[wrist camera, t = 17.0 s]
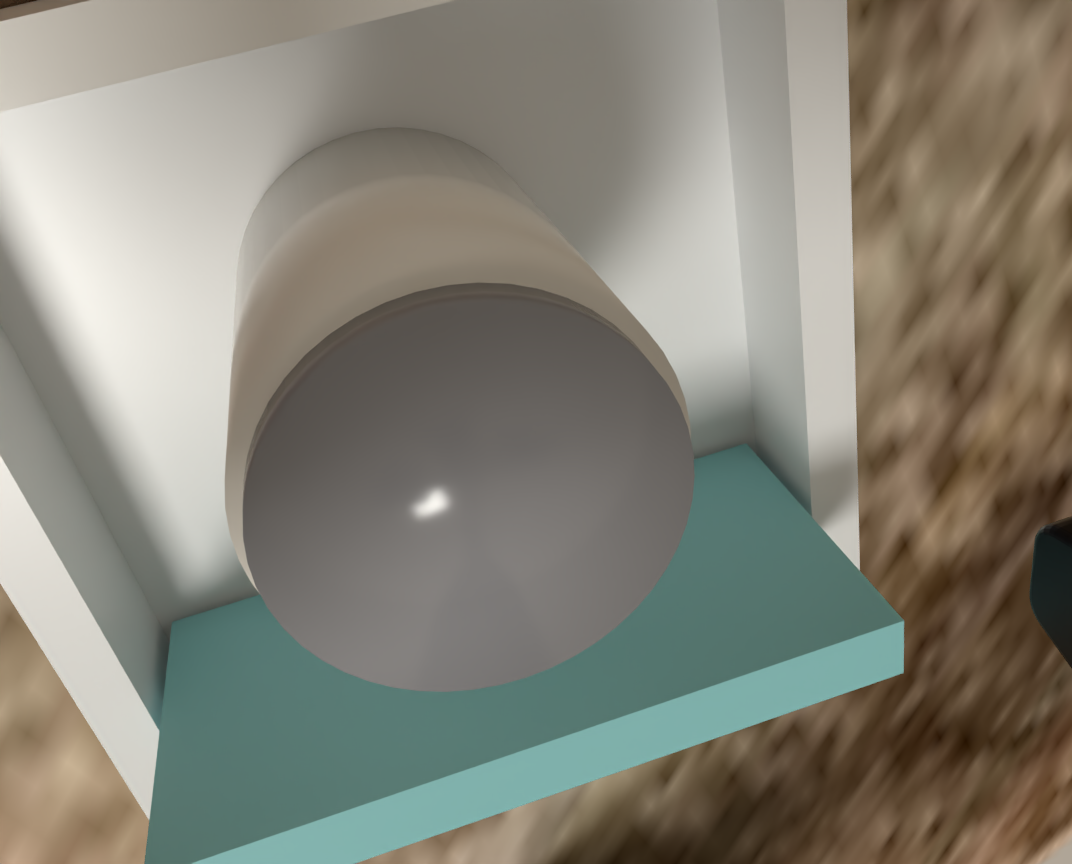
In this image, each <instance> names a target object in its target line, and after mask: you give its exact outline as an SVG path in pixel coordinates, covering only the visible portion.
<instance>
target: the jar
mask: <svg viewBox="0 0 1072 864" xmlns="http://www.w3.org/2000/svg"><path fill="white" fill-rule="evenodd" d="M694 478H695V474H694V454H693V448H692V443H691V430H690V420H689V416H688V411H687V406H686V401H685V397H684V394H683V392H682V389H681V386H680V384H679V381H678V378H677V376H676V373H675V372H674V370H673V368H672V366H671V364H670V363H669V361H668V359H667V357H666V356H665V354H664V352H663V351H662V349H661V348H660V347H659V346H658V344H657V343H656V342H655V340H654V339H653V338H652V337H651V335H650V334H649V333H648V332H647V330H646V329H645V328H644V327H643V326H642V325H641V323H640V322H639V321H638V320H637V319H636V318H635V317H634V315H633V314H632V313H631V312H630V311H629V310H628V309H627V308H626V306H625V305H624V304H623V303H622V302H621V301H620V300H619V298H618V297H617V296H616V295H615V294H614V293H613V292H612V290H611V289H610V288H609V287H608V286H607V285H606V284H605V282H604V281H603V280H602V279H601V278H600V277H599V276H598V275H597V273H596V272H595V271H594V270H593V269H592V268H591V267H590V265H589V264H588V263H587V262H586V261H585V260H584V259H583V257H582V256H581V255H580V254H579V253H578V252H577V251H576V249H575V248H574V247H573V246H572V245H571V244H570V243H569V242H568V240H567V239H566V238H565V237H564V236H563V235H562V234H561V232H560V231H559V230H558V229H557V228H556V227H555V226H554V224H553V223H552V222H551V221H550V220H549V219H548V218H547V217H546V215H545V214H544V213H543V212H542V211H541V210H540V209H539V207H538V206H537V205H536V204H535V203H534V202H533V201H532V199H531V198H530V197H529V196H528V195H527V194H526V193H525V191H524V190H523V189H522V188H521V187H520V186H519V185H518V184H517V182H516V181H515V180H514V179H513V178H512V177H511V176H510V175H509V174H508V173H507V172H506V171H505V170H504V169H503V168H502V167H501V166H500V165H499V164H498V163H496V162H495V161H493V160H492V159H491V158H489V157H488V156H486V155H485V154H484V153H482V152H481V151H479V150H477V149H475V148H474V147H472V146H470V145H468V144H466V143H464V142H462V141H460V140H457V139H454V138H451V137H449V136H446V135H443V134H440V133H435V132H431V131H426V130H422V129H411V128H400V127H398V128H378V129H372V130H366V131H361V132H356V133H352V134H349V135H346V136H343V137H340V138H337V139H334V140H332V141H330V142H328V143H326V144H324V145H322V146H320V147H318V148H316V149H314V150H312V151H311V152H309V153H308V154H306V155H305V156H303V157H302V158H300V159H299V160H297V161H296V162H295V163H293V164H292V165H291V166H290V167H289V168H288V169H287V170H286V171H284V172H283V173H282V174H281V175H280V176H279V177H278V178H277V179H276V181H275V182H274V183H273V184H272V185H271V186H270V188H269V189H268V190H267V191H266V192H265V194H264V195H263V197H262V199H261V200H260V202H259V203H258V205H257V206H256V208H255V210H254V211H253V214H252V216H251V218H250V220H249V223H248V225H247V227H246V229H245V232H244V236H243V240H242V243H241V247H240V250H239V258H238V265H237V275H236V292H235V309H234V327H233V344H232V361H231V378H230V395H229V412H228V429H227V446H226V463H225V480H224V481H225V511H226V516H227V522H228V527H229V533H230V537H231V539H232V542H233V545H234V548H235V551H236V553H237V556H238V559H239V561H240V563H241V565H242V567H243V569H244V570H245V572H246V574H247V576H248V578H249V579H250V581H251V583H252V585H253V586H254V587H255V588H256V590H257V591H258V592H259V594H260V595H261V597H262V599H263V601H264V602H265V604H266V606H267V608H268V609H269V611H270V612H271V613H272V615H273V616H274V617H275V618H276V620H277V621H278V622H279V624H280V625H281V626H282V627H283V629H284V630H285V631H286V632H288V633H289V634H290V635H291V636H292V637H293V638H294V639H295V640H296V641H297V642H298V643H299V644H300V645H301V646H302V647H304V648H305V649H307V650H308V651H309V652H311V653H312V654H314V655H315V656H316V657H318V658H319V659H321V660H322V661H324V662H326V663H328V664H330V665H332V666H333V667H335V668H337V669H339V670H341V671H343V672H345V673H348V674H350V675H353V676H356V677H358V678H361V679H364V680H366V681H369V682H373V683H377V684H381V685H385V686H389V687H393V688H400V689H408V690H415V691H434V692H451V691H464V690H475V689H480V688H486V687H492V686H498V685H502V684H505V683H509V682H513V681H516V680H520V679H523V678H526V677H529V676H532V675H534V674H537V673H540V672H542V671H545V670H547V669H550V668H552V667H554V666H556V665H558V664H560V663H562V662H564V661H566V660H568V659H570V658H572V657H574V656H576V655H577V654H579V653H580V652H582V651H584V650H585V649H587V648H588V647H590V646H592V645H593V644H595V643H596V642H598V641H599V640H600V639H602V638H603V637H604V636H606V635H607V634H608V633H609V632H611V631H612V630H613V629H615V628H616V627H617V626H618V625H619V624H620V623H621V622H622V621H624V620H625V619H626V618H627V617H628V616H629V615H630V614H631V613H632V612H633V611H634V610H635V609H636V608H637V607H638V606H639V605H640V603H641V602H642V601H643V600H644V599H645V598H646V596H647V595H648V594H649V593H650V592H651V591H652V589H653V588H654V587H655V585H656V584H657V582H658V581H659V579H660V578H661V576H662V575H663V573H664V572H665V570H666V569H667V567H668V565H669V563H670V561H671V560H672V558H673V556H674V554H675V552H676V550H677V548H678V546H679V543H680V541H681V538H682V535H683V533H684V530H685V527H686V525H687V521H688V517H689V513H690V508H691V504H692V499H693V488H694Z"/></svg>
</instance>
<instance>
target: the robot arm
mask: <svg viewBox="0 0 1072 864" xmlns="http://www.w3.org/2000/svg"><path fill="white" fill-rule="evenodd" d="M1030 602H1031V606H1032V609H1033V612H1034V614H1035V616H1036V618H1037V620H1038V622H1039V623H1040V625H1041V626H1042V628H1043V629H1044V630H1045V632H1046V633H1047V635H1048V636H1049V637H1050V639H1051V640H1052V642H1053V643H1054V644H1055V646H1056V647H1057V648H1058V650H1059V651H1060V653H1061V654H1062V655H1063V657H1064V658H1065V660H1066V661H1067V662H1068V664H1069V665H1070V667H1071V668H1072V516H1071V517H1068V518H1065V519H1062V520H1059V521H1056V522H1053V523H1050V524H1047V525H1045V526H1043V527H1042V528H1040V530H1039V532H1038V533H1037V535H1036V537H1035V543H1034V553H1033V563H1032V573H1031V583H1030Z"/></svg>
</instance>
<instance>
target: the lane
mask: <svg viewBox="0 0 1072 864" xmlns="http://www.w3.org/2000/svg"><path fill="white" fill-rule="evenodd" d="M398 127H400V128H411V129H422V130H426V131H431V132H435V133H440V134H443V135H446V136H449V137H451V138H454V139H457V140H460V141H462V142H464V143H466V144H468V145H470V146H472V147H474V148H475V149H477V150H479V151H481V152H482V153H484V154H485V155H486V156H488V157H489V158H491V159H492V160H493V161H495V162H496V163H498V164H499V165H500V166H501V167H502V168H503V169H504V170H505V171H506V172H507V173H508V174H509V175H510V176H511V177H512V178H513V179H514V180H515V181H516V182H517V184H518V185H519V186H520V187H521V188H522V189H523V190H524V191H525V193H526V194H527V195H528V196H529V197H530V198H531V199H532V201H533V202H534V203H535V204H536V205H537V206H538V207H539V209H540V210H541V211H542V212H543V213H544V214H545V215H546V217H547V218H548V219H549V220H550V221H551V222H552V223H553V224H554V226H555V227H556V228H557V229H558V230H559V231H560V232H561V234H562V235H563V236H564V237H565V238H566V239H567V240H568V242H569V243H570V244H571V245H572V246H573V247H574V248H575V249H576V251H577V252H578V253H579V254H580V255H581V256H582V257H583V259H584V260H585V261H586V262H587V263H588V264H589V265H590V267H591V268H592V269H593V270H594V271H595V272H596V273H597V275H598V276H599V277H600V278H601V279H602V280H603V281H604V282H605V284H606V285H607V286H608V287H609V288H610V289H611V290H612V292H613V293H614V294H615V295H616V296H617V297H618V298H619V300H620V301H621V302H622V303H623V304H624V305H625V306H626V308H627V309H628V310H629V311H630V312H631V313H632V314H633V315H634V317H635V318H636V319H637V320H638V321H639V322H640V323H641V325H642V326H643V327H644V328H645V329H646V330H647V332H648V333H649V334H650V335H651V337H652V338H653V339H654V340H655V342H656V343H657V344H658V346H659V347H660V348H661V349H662V351H663V352H664V354H665V356H666V357H667V359H668V361H669V363H670V364H671V366H672V368H673V370H674V372H675V373H676V376H677V378H678V381H679V384H680V386H681V389H682V392H683V394H684V397H685V401H686V406H687V411H688V416H689V420H690V430H691V443H692V448H693V454H694V459H697V458H701V457H704V456H707V455H710V454H713V453H717V452H720V451H723V450H726V449H729V448H733V447H736V446H739V445H742V444H746V443H747V445H748V446H749V447H750V448H751V449H752V450H753V451H754V452H755V454H756V455H757V456H758V457H759V458H760V459H761V460H762V461H763V463H764V464H765V465H766V466H767V467H768V468H769V469H770V470H771V472H772V473H773V474H774V475H775V476H776V477H777V478H778V479H779V481H780V482H781V483H782V484H783V485H784V486H785V487H786V488H787V490H788V491H789V492H790V493H791V494H792V495H793V496H794V497H795V499H796V500H797V501H798V502H799V503H800V504H801V505H802V506H803V508H804V509H805V510H806V511H807V512H808V513H809V514H810V515H811V517H812V518H813V519H814V520H815V521H816V522H817V523H818V524H819V526H820V527H821V528H822V529H823V530H824V531H825V532H826V533H827V535H828V536H829V537H830V538H831V539H832V540H833V541H834V542H835V544H836V545H837V546H838V547H839V548H840V549H841V550H842V551H843V553H844V554H845V555H846V556H847V557H848V558H849V559H850V560H851V562H852V563H853V564H854V565H855V566H856V567H857V568H858V569H859V571H860V556H859V512H858V468H857V424H856V380H855V337H854V293H853V249H852V205H851V161H850V118H849V74H848V30H847V0H37V1H33V2H29V3H24V4H20V5H16V6H12V7H7V8H3V9H0V583H1V585H2V587H3V588H4V590H5V591H6V593H7V595H8V596H9V598H10V599H11V601H12V602H13V604H14V606H15V607H16V609H17V610H18V612H19V614H20V615H21V617H22V618H23V620H24V622H25V623H26V625H27V626H28V628H29V630H30V631H31V633H32V634H33V636H34V638H35V639H36V641H37V642H38V644H39V645H40V647H41V649H42V650H43V652H44V653H45V655H46V657H47V658H48V660H49V661H50V663H51V665H52V666H53V668H54V669H55V671H56V673H57V674H58V676H59V677H60V679H61V681H62V682H63V684H64V685H65V687H66V688H67V690H68V692H69V693H70V695H71V696H72V698H73V700H74V701H75V703H76V704H77V706H78V708H79V709H80V711H81V712H82V714H83V716H84V717H85V719H86V720H87V722H88V724H89V725H90V727H91V728H92V730H93V731H94V733H95V735H96V736H97V738H98V739H99V741H100V743H101V744H102V746H103V747H104V749H105V751H106V752H107V754H108V755H109V757H110V759H111V760H112V762H113V763H114V765H115V767H116V768H117V770H118V771H119V773H120V774H121V776H122V778H123V779H124V781H125V782H126V784H127V786H128V787H129V789H130V790H131V792H132V794H133V795H134V797H135V798H136V800H137V802H138V803H139V805H140V806H141V808H142V810H143V811H144V813H145V814H146V816H147V817H148V819H149V820H150V811H151V802H152V794H153V785H154V776H155V767H156V758H157V750H158V741H159V732H160V723H161V714H162V706H163V697H164V688H165V679H166V670H167V662H168V653H169V644H170V635H171V627H172V622H173V621H177V620H180V619H183V618H186V617H190V616H193V615H196V614H199V613H202V612H206V611H209V610H212V609H215V608H218V607H222V606H225V605H228V604H231V603H235V602H238V601H241V600H244V599H247V598H251V597H254V596H257V595H260V594H259V592H258V591H257V590H256V588H255V587H254V586H253V585H252V583H251V581H250V579H249V578H248V576H247V574H246V572H245V570H244V569H243V567H242V565H241V563H240V561H239V559H238V556H237V553H236V551H235V548H234V545H233V542H232V539H231V537H230V533H229V527H228V522H227V516H226V511H225V481H224V480H225V463H226V446H227V429H228V412H229V395H230V378H231V361H232V344H233V327H234V309H235V292H236V275H237V265H238V258H239V250H240V247H241V243H242V240H243V236H244V232H245V229H246V227H247V225H248V223H249V220H250V218H251V216H252V214H253V211H254V210H255V208H256V206H257V205H258V203H259V202H260V200H261V199H262V197H263V195H264V194H265V192H266V191H267V190H268V189H269V188H270V186H271V185H272V184H273V183H274V182H275V181H276V179H277V178H278V177H279V176H280V175H281V174H282V173H283V172H284V171H286V170H287V169H288V168H289V167H290V166H291V165H292V164H293V163H295V162H296V161H297V160H299V159H300V158H302V157H303V156H305V155H306V154H308V153H309V152H311V151H312V150H314V149H316V148H318V147H320V146H322V145H324V144H326V143H328V142H330V141H332V140H334V139H337V138H340V137H343V136H346V135H349V134H352V133H356V132H361V131H366V130H372V129H378V128H398Z"/></svg>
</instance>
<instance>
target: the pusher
mask: <svg viewBox="0 0 1072 864" xmlns="http://www.w3.org/2000/svg"><path fill="white" fill-rule="evenodd" d="M694 474H695V478H694V488H693V499H692V504H691V508H690V513H689V517H688V521H687V525H686V527H685V530H684V533H683V535H682V538H681V541H680V543H679V546H678V548H677V550H676V552H675V554H674V556H673V558H672V560H671V561H670V563H669V565H668V567H667V569H666V570H665V572H664V573H663V575H662V576H661V578H660V579H659V581H658V582H657V584H656V585H655V587H654V588H653V589H652V591H651V592H650V593H649V594H648V595H647V596H646V598H645V599H644V600H643V601H642V602H641V603H640V605H639V606H638V607H637V608H636V609H635V610H634V611H633V612H632V613H631V614H630V615H629V616H628V617H627V618H626V619H625V620H624V621H622V622H621V623H620V624H619V625H618V626H617V627H616V628H615V629H613V630H612V631H611V632H609V633H608V634H607V635H606V636H604V637H603V638H602V639H600V640H599V641H598V642H596V643H595V644H593V645H592V646H590V647H588V648H587V649H585V650H584V651H582V652H580V653H579V654H577V655H576V656H574V657H572V658H570V659H568V660H566V661H564V662H562V663H560V664H558V665H556V666H554V667H552V668H550V669H547V670H545V671H542V672H540V673H537V674H534V675H532V676H529V677H526V678H523V679H520V680H516V681H513V682H509V683H505V684H502V685H498V686H492V687H486V688H480V689H475V690H464V691H451V692H434V691H415V690H408V689H400V688H393V687H389V686H385V685H381V684H377V683H373V682H369V681H366V680H364V679H361V678H358V677H356V676H353V675H350V674H348V673H345V672H343V671H341V670H339V669H337V668H335V667H333V666H332V665H330V664H328V663H326V662H324V661H322V660H321V659H319V658H318V657H316V656H315V655H314V654H312V653H311V652H309V651H308V650H307V649H305V648H304V647H302V646H301V645H300V644H299V643H298V642H297V641H296V640H295V639H294V638H293V637H292V636H291V635H290V634H289V633H288V632H286V631H285V630H284V629H283V627H282V626H281V625H280V624H279V622H278V621H277V620H276V618H275V617H274V616H273V615H272V613H271V612H270V611H269V609H268V608H267V606H266V604H265V602H264V601H263V599H262V597H261V595H257V596H254V597H251V598H247V599H244V600H241V601H238V602H235V603H231V604H228V605H225V606H222V607H218V608H215V609H212V610H209V611H206V612H202V613H199V614H196V615H193V616H190V617H186V618H183V619H180V620H177V621H173V622H172V627H171V635H170V644H169V653H168V662H167V670H166V679H165V688H164V697H163V706H162V714H161V723H160V732H159V741H158V750H157V758H156V767H155V776H154V785H153V794H152V802H151V811H150V820H149V829H148V837H147V846H146V855H145V864H355V863H358V862H361V861H363V860H366V859H369V858H372V857H375V856H378V855H381V854H384V853H386V852H389V851H392V850H395V849H398V848H401V847H404V846H407V845H409V844H412V843H415V842H418V841H421V840H424V839H427V838H430V837H433V836H435V835H438V834H441V833H444V832H447V831H450V830H453V829H456V828H458V827H461V826H464V825H467V824H470V823H473V822H476V821H479V820H481V819H484V818H487V817H490V816H493V815H496V814H499V813H502V812H505V811H507V810H510V809H513V808H516V807H519V806H522V805H525V804H528V803H530V802H533V801H536V800H539V799H542V798H545V797H548V796H551V795H553V794H556V793H559V792H562V791H565V790H568V789H571V788H574V787H576V786H579V785H582V784H585V783H588V782H591V781H594V780H597V779H600V778H602V777H605V776H608V775H611V774H614V773H617V772H620V771H623V770H625V769H628V768H631V767H634V766H637V765H640V764H643V763H646V762H648V761H651V760H654V759H657V758H660V757H663V756H666V755H669V754H672V753H674V752H677V751H680V750H683V749H686V748H689V747H692V746H695V745H697V744H700V743H703V742H706V741H709V740H712V739H715V738H718V737H720V736H723V735H726V734H729V733H732V732H735V731H738V730H741V729H744V728H746V727H749V726H752V725H755V724H758V723H761V722H764V721H767V720H769V719H772V718H775V717H778V716H781V715H784V714H787V713H790V712H792V711H795V710H798V709H801V708H804V707H807V706H810V705H813V704H816V703H818V702H821V701H824V700H827V699H830V698H833V697H836V696H839V695H841V694H844V693H847V692H850V691H853V690H856V689H859V688H862V687H864V686H867V685H870V684H873V683H876V682H879V681H882V680H885V679H887V678H890V677H893V676H896V675H899V674H902V673H904V620H903V619H902V618H901V617H900V616H899V614H898V613H897V612H896V611H895V610H894V609H893V608H892V607H891V605H890V604H889V603H888V602H887V601H886V600H885V599H884V598H883V596H882V595H881V594H880V593H879V592H878V591H877V590H876V589H875V587H874V586H873V585H872V584H871V583H870V582H869V581H868V580H867V578H866V577H865V576H864V575H863V574H862V573H861V572H860V571H859V569H858V568H857V567H856V566H855V565H854V564H853V563H852V562H851V560H850V559H849V558H848V557H847V556H846V555H845V554H844V553H843V551H842V550H841V549H840V548H839V547H838V546H837V545H836V544H835V542H834V541H833V540H832V539H831V538H830V537H829V536H828V535H827V533H826V532H825V531H824V530H823V529H822V528H821V527H820V526H819V524H818V523H817V522H816V521H815V520H814V519H813V518H812V517H811V515H810V514H809V513H808V512H807V511H806V510H805V509H804V508H803V506H802V505H801V504H800V503H799V502H798V501H797V500H796V499H795V497H794V496H793V495H792V494H791V493H790V492H789V491H788V490H787V488H786V487H785V486H784V485H783V484H782V483H781V482H780V481H779V479H778V478H777V477H776V476H775V475H774V474H773V473H772V472H771V470H770V469H769V468H768V467H767V466H766V465H765V464H764V463H763V461H762V460H761V459H760V458H759V457H758V456H757V455H756V454H755V452H754V451H753V450H752V449H751V448H750V447H749V446H748V445H747V443H746V444H742V445H739V446H736V447H733V448H729V449H726V450H723V451H720V452H717V453H713V454H710V455H707V456H704V457H701V458H697V459H694Z"/></svg>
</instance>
